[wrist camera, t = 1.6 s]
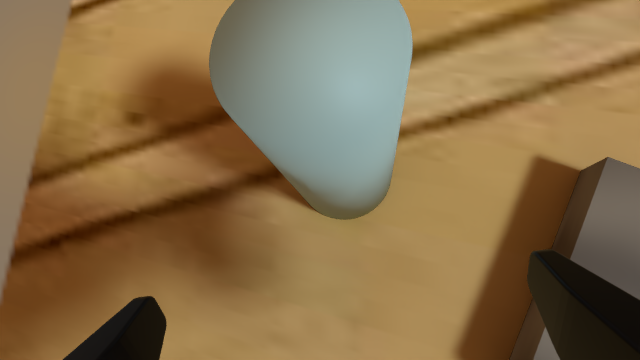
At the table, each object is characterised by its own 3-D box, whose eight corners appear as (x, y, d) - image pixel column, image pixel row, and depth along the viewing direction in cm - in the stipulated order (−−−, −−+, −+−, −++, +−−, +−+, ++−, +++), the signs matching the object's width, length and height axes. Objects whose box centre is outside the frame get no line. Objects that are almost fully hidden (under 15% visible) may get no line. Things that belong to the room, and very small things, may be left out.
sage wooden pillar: (333, 238, 22) (279, 188, 9) (281, 165, 23) (174, 39, 11) (411, 181, 22) (458, 58, 10) (353, 113, 24) (330, -71, 11)
